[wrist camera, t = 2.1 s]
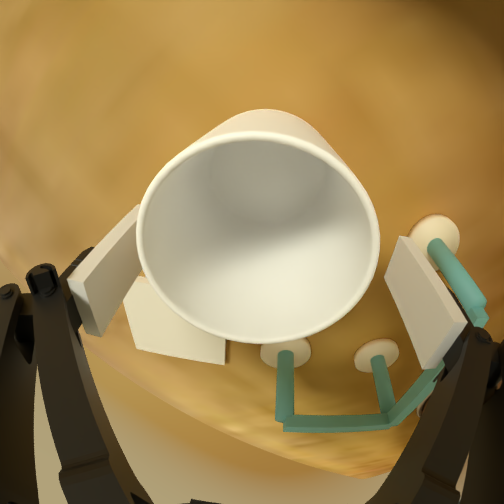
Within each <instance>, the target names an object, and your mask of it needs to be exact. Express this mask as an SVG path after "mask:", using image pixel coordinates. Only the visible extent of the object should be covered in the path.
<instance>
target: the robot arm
mask: <svg viewBox="0 0 504 504" xmlns="http://www.w3.org/2000/svg"><path fill="white" fill-rule="evenodd" d="M139 209H140V205H138V204H137V205H136V206H135V207H134V208H133V209H132V210H131V211H130V212H129V213H128V214H127V215H126V216H125V217H124V218H123V219H122V220H121V221H120V222H119V223H118V224H117V225H116V226H115V227H114V228H113V229H112V230H111V231H110V232H109V233H108V234H107V235H106V236H105V237H104V238H103V239H102V240H101V241H100V243H99V244H98V245H97V246H96V247H90V248H88V249H86V250H85V251H83V252H82V253H81V254H80V255H79V256H78V257H77V258H76V260H74V261H73V262H72V263H71V265H70V266H69V267H68V268H67V269H66V270H65V271H64V272H63V273H62V275H61V276H60V277H59V278H58V274H57V271H56V268H55V266H54V265H52V264H47V263H45V264H40V265H37V266H35V267H34V268H32V269H31V270H30V271H29V272H28V273H27V275H26V278H25V279H26V281H27V284H28V286H29V289H30V291H31V293H24V294H22V293H21V291H20V289H19V286H18V285H17V284H6V285H4V286H2V287H1V288H0V504H39V499H38V488H37V480H36V470H35V458H34V430H33V429H34V395H35V381H36V371H37V365H38V371H39V377H40V384H41V389H42V395H43V400H44V404H45V409H46V413H47V417H48V421H49V425H50V429H51V432H52V436H53V439H54V443H55V447H56V450H57V453H58V456H59V459H60V462H61V466H62V470H61V471H60V472H59V481H60V484H61V487H62V490H63V492H64V495H65V497H66V500H67V502H68V504H154V503H153V502H152V500H151V498H150V497H149V496H148V494H147V492H146V491H145V489H144V488H143V487H142V485H141V484H140V483H139V481H138V480H137V478H136V476H135V475H134V473H133V471H132V469H131V467H130V466H129V463H128V462H127V459H126V457H125V455H124V453H123V451H122V449H121V447H120V445H119V443H118V441H117V438H116V436H115V434H114V432H113V429H112V427H111V425H110V423H109V420H108V418H107V415H106V413H105V411H104V408H103V405H102V403H101V400H100V397H99V394H98V392H97V389H96V386H95V383H94V380H93V377H92V374H91V372H90V368H89V365H88V362H87V358H86V355H85V351H84V348H83V344H82V340H81V337H80V334H79V331H78V329H79V327H80V326H81V324H83V327H84V329H85V332H86V333H87V334H91V335H94V336H98V337H102V335H103V334H104V332H105V330H106V328H107V327H108V325H109V323H110V321H111V320H112V318H113V316H114V314H115V313H116V311H117V309H118V308H119V306H120V304H121V303H122V301H123V299H124V298H125V296H126V294H127V293H128V291H129V290H130V288H131V286H132V285H133V283H134V281H135V280H136V278H137V277H138V275H139V274H140V272H141V270H142V266H141V263H140V260H139V256H138V250H137V244H136V226H137V217H138V213H139ZM384 279H385V281H386V283H387V285H388V288H389V290H390V292H391V294H392V296H393V299H394V301H395V303H396V305H397V308H398V310H399V312H400V315H401V317H402V319H403V322H404V324H405V326H406V329H407V331H408V334H409V336H410V339H411V341H412V344H413V346H414V349H415V352H416V354H417V357H418V360H419V362H420V365H421V368H422V369H434V368H436V367H437V366H438V364H439V363H440V362H441V360H442V359H443V361H444V364H445V366H444V367H443V369H442V370H441V371H440V372H439V374H438V375H437V376H436V377H435V379H434V380H433V381H432V382H435V381H436V380H437V382H436V385H435V387H434V390H433V392H432V394H431V397H430V399H429V401H428V403H427V406H426V408H425V410H424V412H423V414H422V416H421V418H420V420H419V423H418V425H417V427H416V428H415V430H414V432H413V434H412V436H411V438H410V440H409V442H408V444H407V445H406V447H405V449H404V451H403V452H402V454H401V456H400V458H399V459H398V461H397V463H396V464H395V466H394V468H393V469H392V471H391V472H390V474H389V475H388V477H387V479H386V480H385V482H384V483H383V484H382V486H381V487H380V489H379V490H378V492H377V493H376V494H375V495H374V496H373V497H372V498H371V499H370V500H369V501H367V502H366V503H365V504H458V503H459V500H460V503H459V504H504V340H503V341H502V343H501V344H500V343H496V342H493V340H492V338H491V336H490V334H489V333H488V332H487V331H486V330H484V329H483V328H481V327H476V326H475V327H474V325H473V324H472V322H471V320H470V318H469V317H468V315H467V314H466V312H465V310H464V309H463V308H462V305H461V304H460V302H459V301H458V299H457V297H456V296H455V294H454V293H453V292H452V291H451V290H450V289H449V288H447V287H446V286H445V285H444V283H443V282H442V280H441V279H440V277H439V276H438V274H437V273H436V272H435V270H434V269H433V267H432V266H431V264H430V263H429V262H428V260H427V259H426V257H425V256H424V255H423V253H422V252H421V251H420V249H419V248H418V246H417V245H416V244H415V242H414V241H413V240H412V239H411V238H410V237H404V236H399V238H398V241H397V244H396V246H395V249H394V252H393V255H392V257H391V260H390V263H389V266H388V268H387V271H386V273H385V276H384ZM501 380H502V383H501V386H500V388H499V389H498V383H499V382H500V381H501ZM468 453H469V457H468V464H467V470H466V476H465V481H464V486H463V491H462V495H460V492H459V491H458V490H456V484H457V482H458V479H459V477H460V474H461V472H462V469H463V467H464V464H465V462H466V459H467V456H468ZM460 497H461V499H460ZM183 504H219V503H212V502H206V501H199V500H193V499H191V501H190V503H183Z"/></svg>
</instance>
